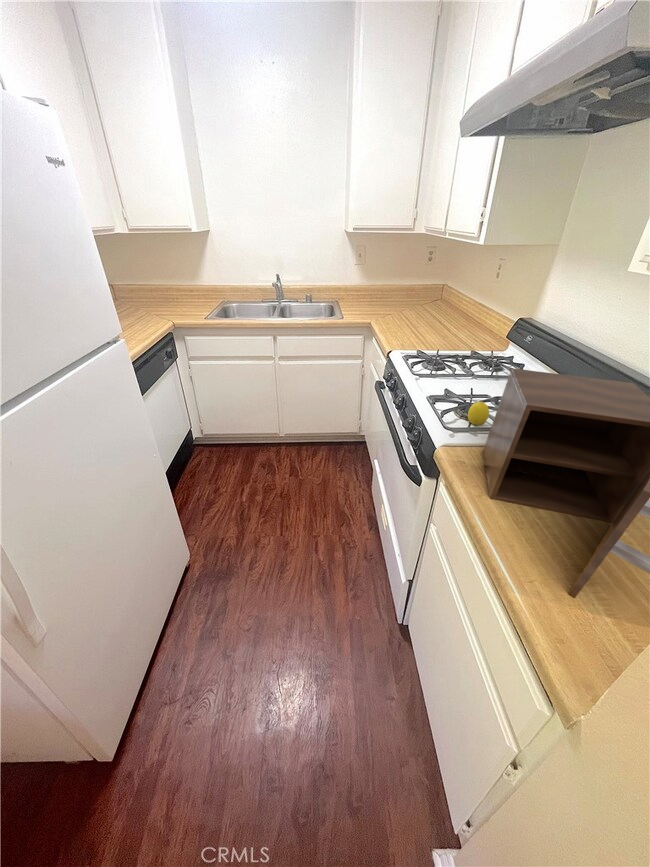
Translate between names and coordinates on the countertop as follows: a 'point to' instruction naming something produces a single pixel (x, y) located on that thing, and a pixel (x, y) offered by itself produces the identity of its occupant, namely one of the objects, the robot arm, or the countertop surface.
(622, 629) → the countertop surface
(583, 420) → the cupboard
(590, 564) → the door
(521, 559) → the countertop surface
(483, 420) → the lemon
